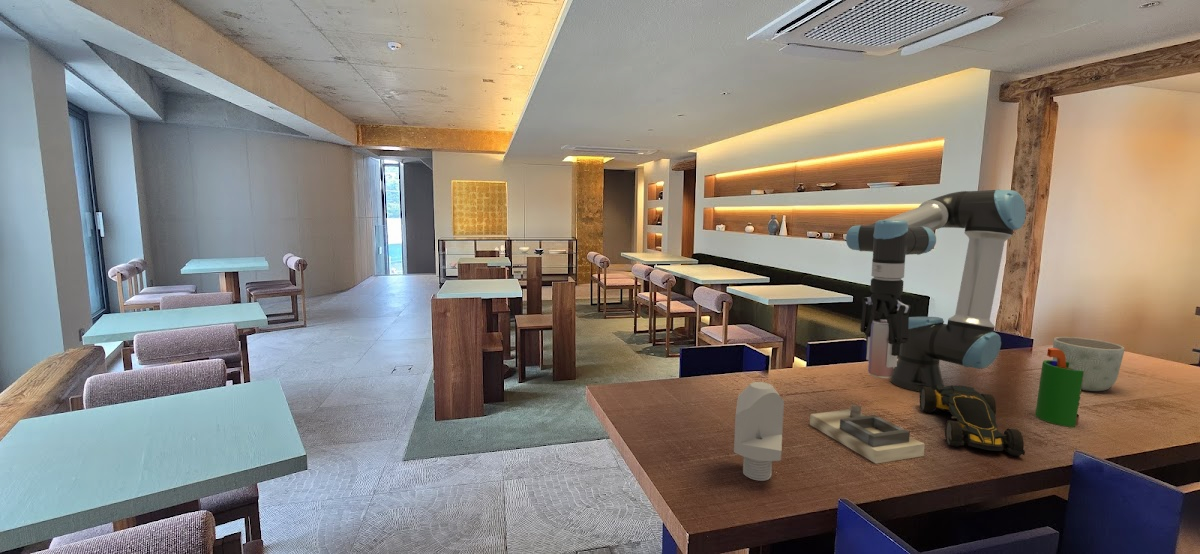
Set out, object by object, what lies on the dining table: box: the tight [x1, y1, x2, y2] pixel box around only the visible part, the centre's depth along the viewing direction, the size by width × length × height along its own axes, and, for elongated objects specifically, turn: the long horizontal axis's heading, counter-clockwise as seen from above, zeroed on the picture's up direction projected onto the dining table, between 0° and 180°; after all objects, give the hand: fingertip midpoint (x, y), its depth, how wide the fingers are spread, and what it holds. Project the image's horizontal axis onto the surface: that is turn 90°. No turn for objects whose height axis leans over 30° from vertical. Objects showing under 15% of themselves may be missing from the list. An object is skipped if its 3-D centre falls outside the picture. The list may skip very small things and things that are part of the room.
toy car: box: [919, 384, 1026, 457], centre depth 131 cm, size 16×32×10 cm, turn 158°
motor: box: [1034, 347, 1084, 428], centre depth 138 cm, size 10×9×20 cm
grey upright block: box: [733, 381, 785, 482], centre depth 107 cm, size 9×9×20 cm
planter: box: [1052, 336, 1126, 392], centre depth 166 cm, size 17×17×15 cm
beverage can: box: [867, 318, 894, 379], centre depth 134 cm, size 6×6×15 cm
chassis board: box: [809, 404, 926, 465], centre depth 125 cm, size 22×14×6 cm, turn 16°
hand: (881, 362), depth 135 cm, fingers closed on beverage can, 6 cm apart
